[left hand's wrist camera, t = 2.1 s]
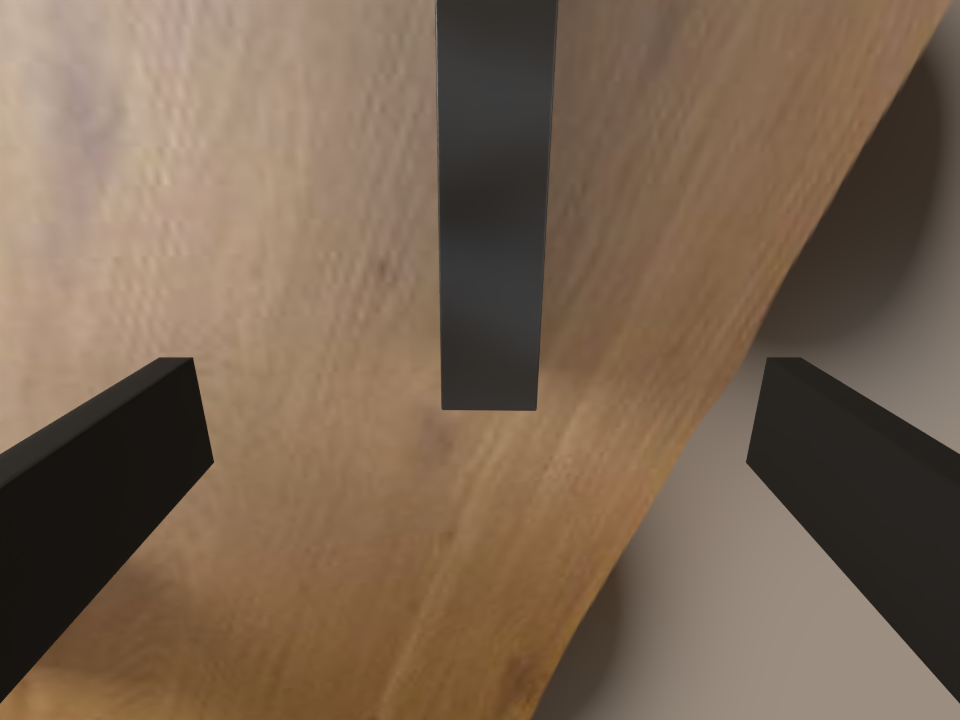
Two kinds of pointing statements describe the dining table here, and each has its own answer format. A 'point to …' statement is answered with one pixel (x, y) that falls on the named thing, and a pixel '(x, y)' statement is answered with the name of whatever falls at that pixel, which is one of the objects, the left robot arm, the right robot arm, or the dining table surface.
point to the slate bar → (493, 196)
